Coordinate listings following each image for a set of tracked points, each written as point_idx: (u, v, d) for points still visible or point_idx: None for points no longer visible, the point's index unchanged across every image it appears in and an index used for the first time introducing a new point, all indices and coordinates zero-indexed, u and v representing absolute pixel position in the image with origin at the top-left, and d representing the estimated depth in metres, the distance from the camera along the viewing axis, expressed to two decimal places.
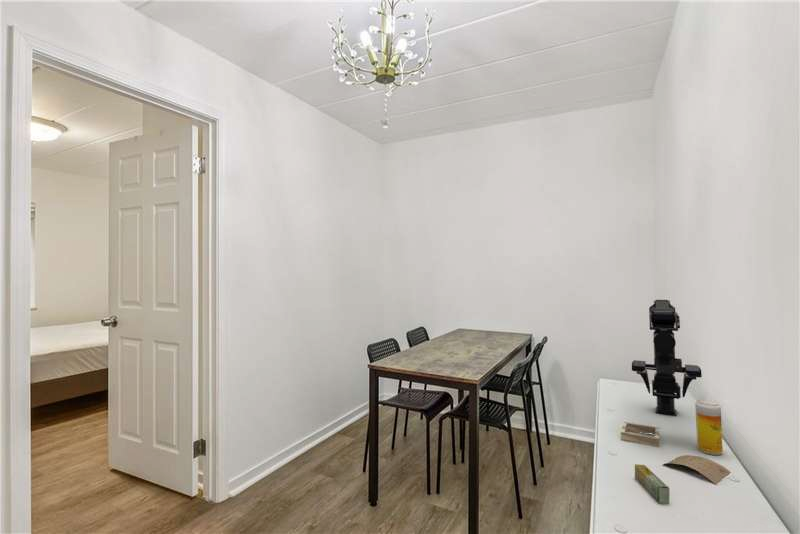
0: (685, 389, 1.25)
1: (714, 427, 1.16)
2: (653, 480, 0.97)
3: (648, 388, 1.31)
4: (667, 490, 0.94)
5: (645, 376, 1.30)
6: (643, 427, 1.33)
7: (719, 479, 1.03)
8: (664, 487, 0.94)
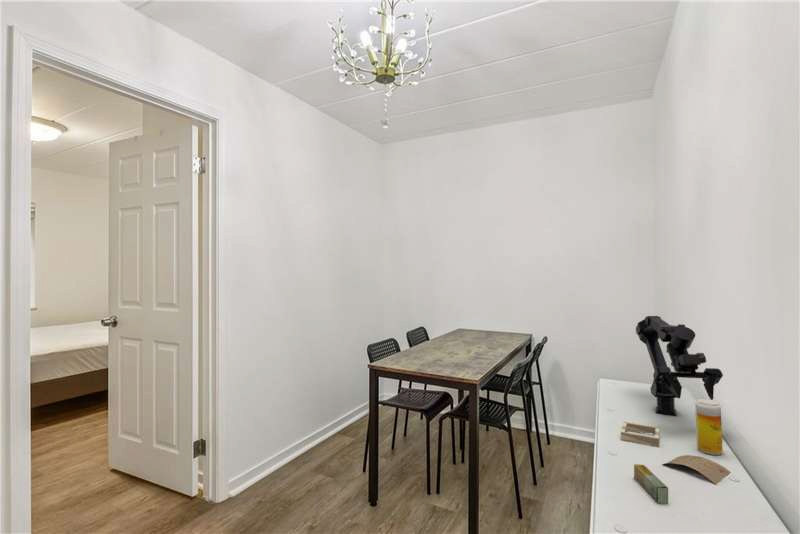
0: (712, 390, 1.27)
1: (714, 427, 1.16)
2: (652, 480, 0.97)
3: (677, 391, 1.29)
4: (666, 490, 0.94)
5: (672, 378, 1.31)
6: (643, 427, 1.33)
7: (719, 479, 1.03)
8: (663, 487, 0.94)
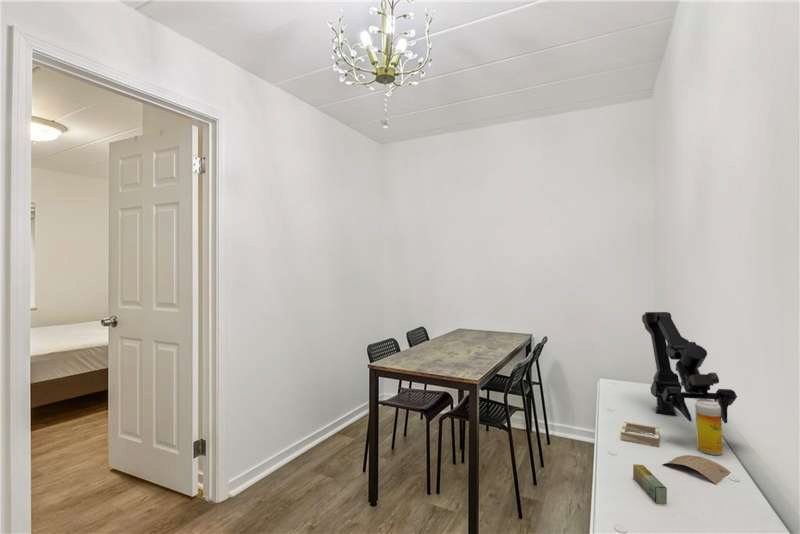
0: (725, 412, 1.20)
1: (714, 427, 1.16)
2: (651, 480, 0.98)
3: (688, 414, 1.21)
4: (664, 490, 0.94)
5: (682, 400, 1.24)
6: (643, 427, 1.33)
7: (719, 479, 1.03)
8: (661, 487, 0.94)
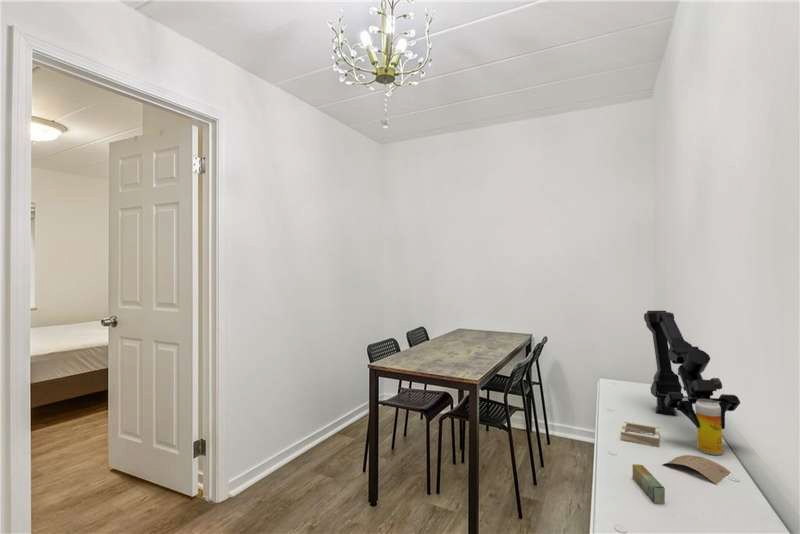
0: (723, 418, 1.18)
1: (714, 427, 1.16)
2: (649, 480, 0.98)
3: (697, 420, 1.20)
4: (662, 490, 0.94)
5: (690, 406, 1.22)
6: (643, 427, 1.33)
7: (719, 479, 1.03)
8: (659, 487, 0.94)
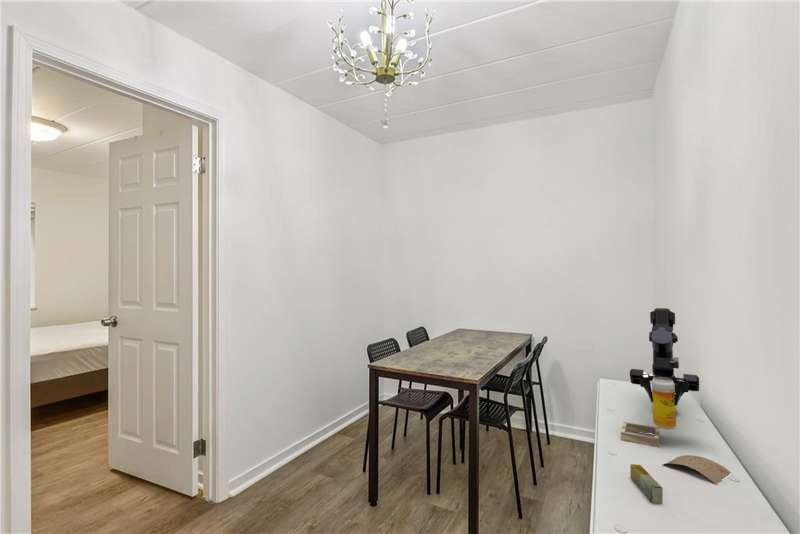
0: (677, 395, 1.23)
1: (664, 403, 1.23)
2: (647, 480, 0.98)
3: (651, 395, 1.27)
4: (660, 490, 0.94)
5: (648, 382, 1.29)
6: (643, 427, 1.33)
7: (719, 479, 1.03)
8: (657, 487, 0.94)
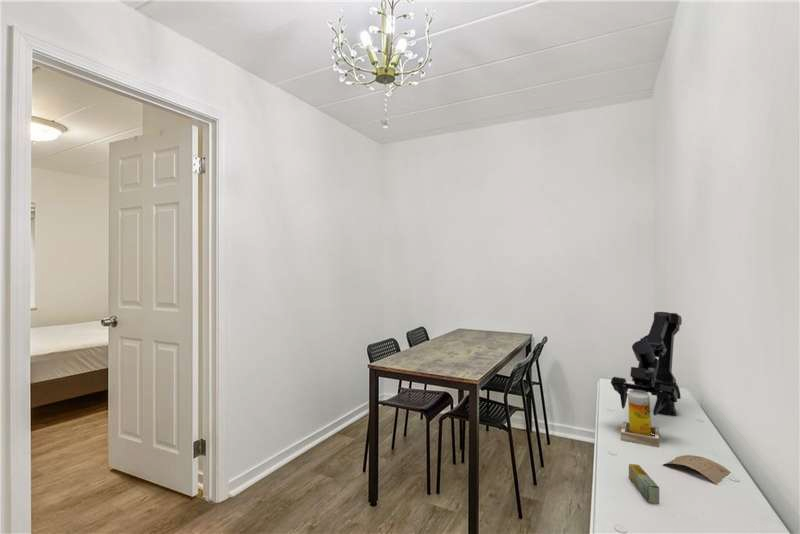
0: (657, 405, 1.26)
1: (637, 415, 1.28)
2: (644, 479, 0.98)
3: (622, 402, 1.33)
4: (657, 490, 0.94)
5: (622, 389, 1.35)
6: None
7: (719, 479, 1.03)
8: (654, 486, 0.95)
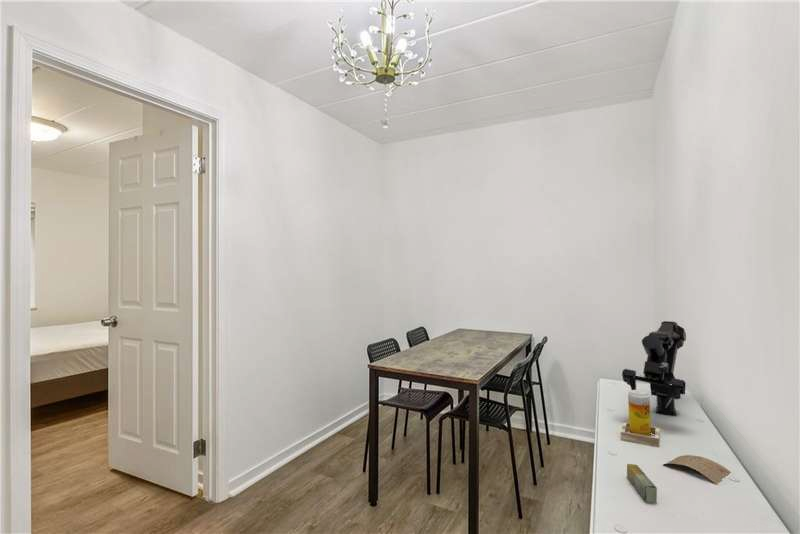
0: (668, 398, 1.33)
1: (637, 415, 1.28)
2: (642, 479, 0.98)
3: None
4: (654, 490, 0.94)
5: (633, 381, 1.41)
6: None
7: (719, 479, 1.03)
8: (651, 486, 0.95)
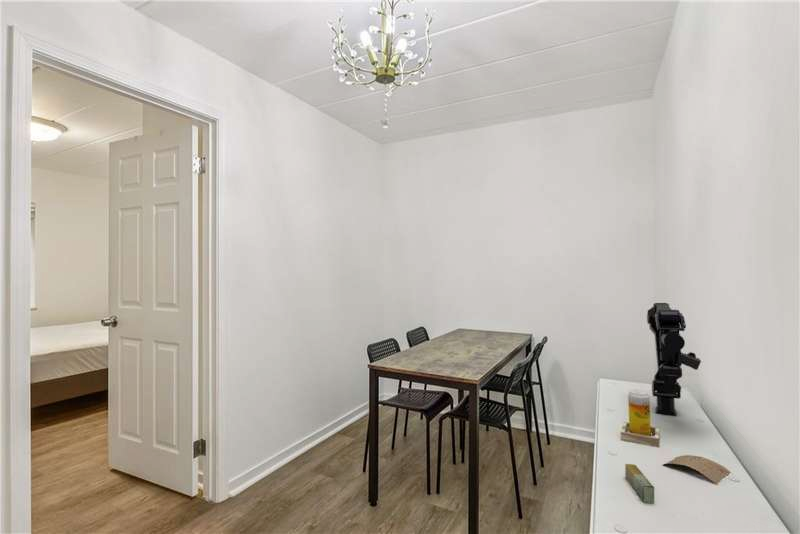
0: None
1: (637, 415, 1.28)
2: (640, 479, 0.98)
3: (674, 389, 1.33)
4: (652, 489, 0.94)
5: None
6: None
7: (720, 479, 1.03)
8: (649, 486, 0.95)
